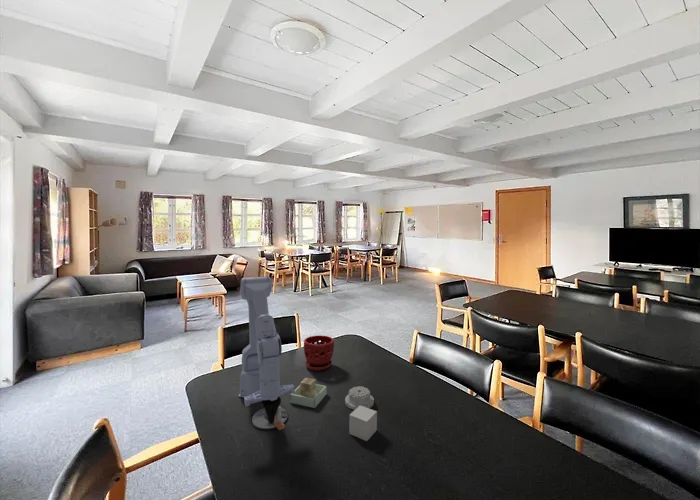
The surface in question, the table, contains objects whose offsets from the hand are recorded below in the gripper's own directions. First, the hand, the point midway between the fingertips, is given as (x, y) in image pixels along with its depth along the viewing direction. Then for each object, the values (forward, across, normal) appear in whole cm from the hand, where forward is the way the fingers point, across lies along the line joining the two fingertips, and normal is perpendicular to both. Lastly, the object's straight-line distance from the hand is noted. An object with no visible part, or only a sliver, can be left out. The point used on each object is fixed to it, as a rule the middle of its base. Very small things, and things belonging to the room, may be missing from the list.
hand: (270, 421), depth 95 cm
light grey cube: (+4, +24, -14) cm, 28 cm away
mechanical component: (+4, +31, 0) cm, 32 cm away
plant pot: (+4, +32, +33) cm, 46 cm away
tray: (+3, +17, +12) cm, 21 cm away
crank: (+3, +2, +3) cm, 5 cm away
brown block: (+3, +17, +11) cm, 21 cm away
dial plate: (+3, +2, +7) cm, 8 cm away
